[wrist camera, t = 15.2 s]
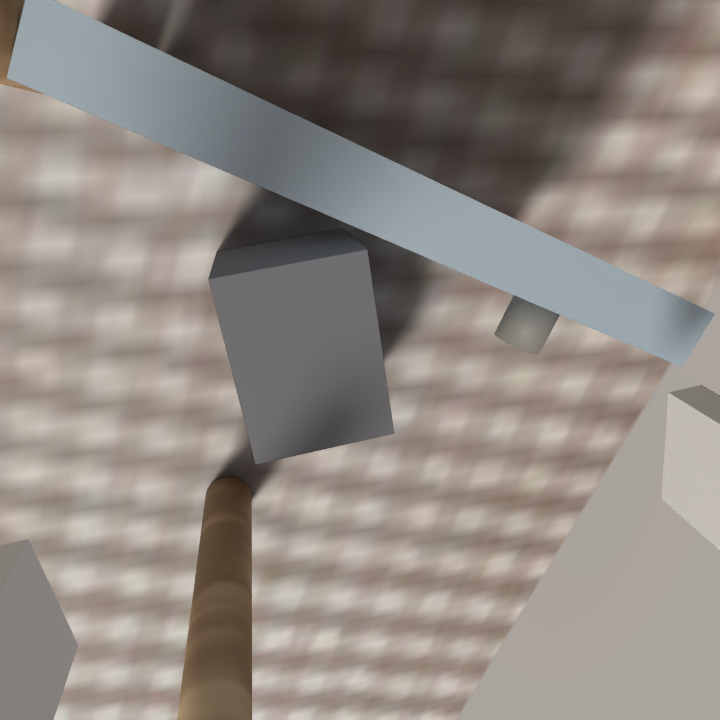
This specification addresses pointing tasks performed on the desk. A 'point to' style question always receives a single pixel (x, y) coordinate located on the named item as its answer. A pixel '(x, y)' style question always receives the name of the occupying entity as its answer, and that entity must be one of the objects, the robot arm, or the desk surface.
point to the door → (344, 183)
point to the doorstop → (303, 343)
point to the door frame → (202, 558)
